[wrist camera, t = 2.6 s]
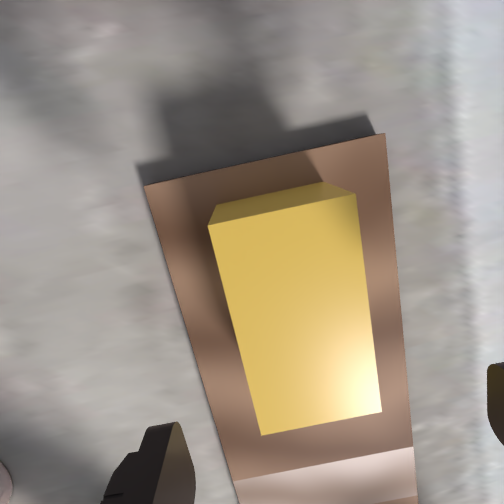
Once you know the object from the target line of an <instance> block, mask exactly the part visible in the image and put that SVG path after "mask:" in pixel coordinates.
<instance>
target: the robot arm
mask: <svg viewBox="0 0 504 504" xmlns="http://www.w3.org/2000/svg"><path fill="white" fill-rule="evenodd" d="M487 413H488V419H489V422H490V425H491V427H492V429H493V431H494V433H495V435H496V436H497V438H498V439H499V441H500V442H501V443H502V444H503V445H504V362H501V363H496V364H491V365H490V366H489V367H488V369H487ZM195 490H196V480H195V471H194V466H193V463H192V460H191V456H190V453H189V450H188V447H187V444H186V441H185V438H184V435H183V432H182V428H181V426H180V424H179V423H178V422H172V423H167V424H162V425H156V426H151V427H148V428H147V430H146V432H145V435H144V437H143V440H142V443H141V446H140V449H139V451H138V452H133V453H128V455H127V456H126V457H125V458H124V460H123V461H122V462H121V464H120V465H119V466H118V467H117V469H116V470H115V471H114V473H113V474H112V477H111V479H110V481H109V484H108V486H107V489H106V491H105V494H104V499H103V501H101V503H100V504H194V499H195Z"/></svg>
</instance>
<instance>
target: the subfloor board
mask: <svg viewBox="0 0 504 504" xmlns="http://www.w3.org/2000/svg"><path fill="white" fill-rule="evenodd" d="M319 182H326V183H329V184H331V185H334V186H337V187H339V188H342V189H345V190H347V191H350V192H353V193H355V194H356V200H357V209H358V217H359V225H360V234H361V242H362V250H363V259H364V267H365V275H366V284H367V292H368V300H369V309H370V317H371V325H372V334H373V342H374V350H375V359H376V367H377V375H378V384H379V392H380V400H381V409H382V412H379V413H374V414H369V415H364V416H359V417H354V418H349V419H343V420H338V421H333V422H328V423H323V424H318V425H313V426H308V427H303V428H298V429H293V430H288V431H283V432H278V433H273V434H268V435H262V436H261V432H260V428H259V425H258V421H257V417H256V413H255V409H254V405H253V401H252V397H251V393H250V389H249V385H248V382H247V378H246V374H245V370H244V366H243V362H242V358H241V354H240V350H239V346H238V342H237V339H236V335H235V331H234V327H233V323H232V319H231V315H230V311H229V307H228V303H227V299H226V296H225V292H224V288H223V284H222V280H221V276H220V272H219V268H218V264H217V260H216V256H215V253H214V249H213V245H212V241H211V237H210V233H209V229H208V223H209V221H210V219H211V216H212V214H213V212H214V209H215V207H216V205H218V204H222V203H227V202H231V201H236V200H241V199H245V198H250V197H254V196H259V195H264V194H268V193H273V192H277V191H282V190H287V189H291V188H296V187H301V186H305V185H310V184H314V183H319ZM144 189H145V193H146V196H147V199H148V202H149V206H150V209H151V212H152V216H153V219H154V222H155V226H156V229H157V232H158V236H159V239H160V242H161V245H162V249H163V252H164V255H165V259H166V262H167V265H168V269H169V272H170V275H171V278H172V282H173V285H174V288H175V292H176V295H177V298H178V302H179V305H180V308H181V312H182V315H183V318H184V321H185V325H186V328H187V331H188V335H189V338H190V341H191V345H192V348H193V351H194V355H195V358H196V361H197V364H198V368H199V371H200V374H201V378H202V381H203V384H204V388H205V391H206V394H207V398H208V401H209V404H210V407H211V411H212V414H213V417H214V421H215V424H216V427H217V431H218V434H219V437H220V441H221V444H222V447H223V450H224V454H225V457H226V460H227V464H228V467H229V470H230V474H231V477H232V480H233V483H234V487H235V490H236V493H237V497H238V500H239V503H240V504H418V495H417V483H416V472H415V461H414V450H413V439H412V428H411V416H410V405H409V394H408V383H407V372H406V361H405V349H404V338H403V327H402V316H401V305H400V294H399V282H398V271H397V260H396V249H395V238H394V226H393V215H392V204H391V193H390V182H389V171H388V159H387V148H386V137H385V133H383V134H375V135H371V136H366V137H362V138H357V139H353V140H348V141H343V142H339V143H334V144H330V145H325V146H321V147H316V148H312V149H307V150H303V151H298V152H294V153H289V154H284V155H280V156H275V157H271V158H266V159H262V160H257V161H253V162H248V163H244V164H239V165H234V166H230V167H225V168H221V169H216V170H212V171H207V172H203V173H198V174H194V175H189V176H185V177H180V178H175V179H171V180H166V181H162V182H157V183H153V184H149V185H146V186H144Z"/></svg>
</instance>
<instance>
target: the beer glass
mask: <svg viewBox="0 0 504 504" xmlns="http://www.w3.org/2000/svg"><path fill="white" fill-rule="evenodd" d="M12 490H13V485H12V480H11V477H10V474H9V472H8V471H7V469H6V468H5V466H4V465H3V464H2V463H1V462H0V504H8V502H9V500H10V498H11V495H12Z"/></svg>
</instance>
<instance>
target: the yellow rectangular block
mask: <svg viewBox="0 0 504 504" xmlns="http://www.w3.org/2000/svg"><path fill="white" fill-rule="evenodd" d="M208 229H209V233H210V237H211V241H212V245H213V249H214V253H215V256H216V260H217V264H218V268H219V272H220V276H221V280H222V284H223V288H224V292H225V296H226V299H227V303H228V307H229V311H230V315H231V319H232V323H233V327H234V331H235V335H236V339H237V342H238V346H239V350H240V354H241V358H242V362H243V366H244V370H245V374H246V378H247V382H248V385H249V389H250V393H251V397H252V401H253V405H254V409H255V413H256V417H257V421H258V425H259V428H260V432H261V436H262V435H268V434H273V433H278V432H283V431H288V430H293V429H298V428H303V427H308V426H313V425H318V424H323V423H328V422H333V421H338V420H343V419H349V418H354V417H359V416H364V415H369V414H374V413H379V412H382V409H381V400H380V392H379V384H378V375H377V367H376V359H375V350H374V342H373V334H372V325H371V317H370V309H369V300H368V292H367V284H366V275H365V267H364V259H363V250H362V242H361V234H360V225H359V217H358V209H357V200H356V194H355V193H353V192H350V191H347V190H345V189H342V188H339V187H337V186H334V185H331V184H329V183H326V182H319V183H314V184H310V185H305V186H301V187H296V188H291V189H287V190H282V191H277V192H273V193H268V194H264V195H259V196H254V197H250V198H245V199H241V200H236V201H231V202H227V203H222V204H218V205H216V207H215V209H214V212H213V214H212V216H211V219H210V221H209V223H208Z"/></svg>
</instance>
